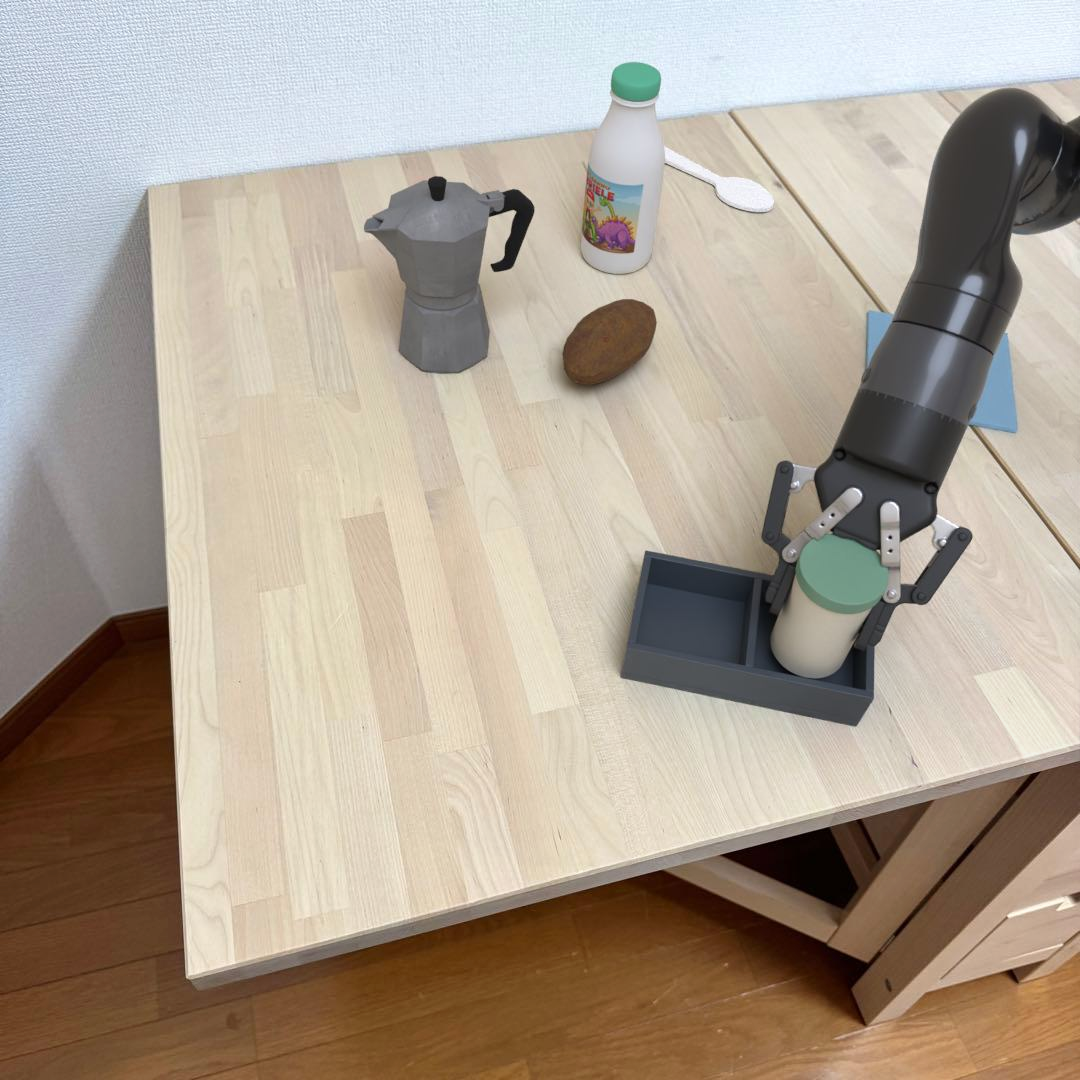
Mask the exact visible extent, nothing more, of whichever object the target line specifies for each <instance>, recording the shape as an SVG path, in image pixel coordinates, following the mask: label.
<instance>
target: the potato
mask: <svg viewBox="0 0 1080 1080" xmlns="http://www.w3.org/2000/svg"><path fill="white" fill-rule="evenodd" d="M657 323H658V322H657V318H656V314H655V310H654V308H652V306H650V305H649V304H647V303H645V302H644V301H640V300H637V299H634V298H622V299H618V300H614V301H611V302H609V303H607V304H604V305H602V306H600V307H597V308H596V309H594V310H593V311H591V312H589V313H587V314H586V315H585V316H583V317H582V318H581V319H580V320H579V322H577V324H576V325H575V327H574V328H573V330H572V331H571V332H570V334H569V335H568V336H567V338H566V340H565V343H564V345H563V349H562V353H561V356H562V362H563V363H562V364H563V370H564V371H565V373H566V374H567V376H568V378H569V379H570V380H571V381H574V382H575V383H577V384H580V385H589V386H590V385H595V384H600V383H603V382H606V381H608V380H611V379H612V378H614V377H616V376H618V375H620V374H622V373H623V372H625V371H626V370H628V369H630V368H631V367H632V366H634V365H635V364H636V363H638V362H639V361H640V360H642V358H643V357H644V356H645V355H646V354H647V353H648V350H649V349H650V347H651V345H652V343H653V341H654V336H655V333H656V329H657Z"/></svg>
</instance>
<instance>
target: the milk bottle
mask: <svg viewBox="0 0 1080 1080" xmlns="http://www.w3.org/2000/svg"><path fill="white" fill-rule="evenodd" d="M661 84H662V75H661V73H660V71H659V70H658V69H657V68H656V67H654V66H653V65H650V64H648V63H644V62H639V61H629V62H624V63H621V64H619V65H617V66H616V67H614V69H613V70H612V73H611V79H610V90H609V95H610V98H611V102H610V104H609V108H608V111H607V113H606V115H605V117H604V119H603V120H602V122H601V123H600V124H599V126H598V128H597V130H596V132H595V134H594V137H593V138H592V142H591V145H590V149H589V153H588V162H587V169H586V178H585V179H586V180H585V190H584V200H583V201H584V202H583V213H582V222H581V223H582V224H581V235H580V252H581V254H582V256H583V259H584V260H585V262H586V263H587V264H588V265H589V266H591V267H593V268H594V269H596V270H598V271H601V272H603V273H607V274H615V275H623V274H630V273H634V272H637V271H639V270H641V269H642V268H644V267H645V266H646V265H647V264H648V262H649V261H650V259H651V258H652V253H653V248H654V244H655V242H654V241H655V238H656V237H655V235H656V230H657V222H658V215H659V209H660V204H661V203H660V202H661V196H662V188H663V183H664V182H663V181H664V173H665V164H666V163H665V148H664V146H665V142H664V138H663V134H662V131H661V128H660V125H659V121H658V117H657V110H656V103H657V102H658V100H659V98H660V92H661V91H660V90H661Z"/></svg>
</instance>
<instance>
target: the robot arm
mask: <svg viewBox="0 0 1080 1080" xmlns="http://www.w3.org/2000/svg"><path fill="white" fill-rule="evenodd" d="M930 170H931V171H930V175H929V179H928V183H927V184H928V186H927V189H926V196H925V201H924V207H923V212H922V218H921V223H920V229H919V235H918V245H917V254H916V260H915V265H914V268H913V270H912V272H911V275H910V277H909V279H908V281H907V283H906V286H905V288H904V289H903V292H902V295H901V297H900V299H899V301H898V304H897V306H896V308H895V311H894V312H893V314H894V316H893V318H892V320H891V322H892V323H890V325H889V327H888V329H887V331H886V333H885V335H884V336H883V338H882V340H881V341H880V343H879V345H878V346H877V348H876V350H875V352H874V354H873V356H872V358H871V360H870V363H869V365H868V368H867V369H866V368H865V370H864V371H863V373H862V376H861V379H860V384H859V386H858V389H857V390H856V395H855V396H854V398H853V401H852V402H851V406H850V407H849V410H848V412H847V415H846V417H845V419H844V422H843V425H842V427H841V429H840V432H839V434H838V436H837V439H836V441H835V443H834V446H833V448H832V450H831V453H830V455H829V456H828V458H826V460H825V461H823V463H821V464H820V465H818V467H812V466H807V465H801V464H797V463H793V462H792V461H790V460H781V461H779V462H778V463H777V465H776V467H775V471H774V476H773V480H772V484H771V489H770V493H769V498H768V502H767V507H766V512H765V515H764V521H763V526H762V529H761V535H760V537H761V540H762V542H763V543H764V544H765V545H767V546H769V547H770V548H771V549H772V550H774V551H775V552H776V553H777V556H778V563H777V566H776V568H775V570H774V573H773V574H772V575H773V577H772V580H771V582H770V585H769V587H768V589H767V592H766V602H768V603H771V604H772V606H771V608H770V610H769V612H771V613H773V614H775V615H779V613H780V611H781V609H782V606H783V604H784V602H785V599H786V597H787V594H788V592H789V589H790V587H791V584H792V582H793V580H794V577H795V574H796V564H797V561H798V559H799V556H800V554H801V551H802V549H803V548H804V546H805V545H806V544H807V543H808V542H809V541H811V540H812V539H814V540H816V541H819V540H820V539H821V538H822V537H823V536H824V535H825V534H828V533H829V532H831V533H833V534H835V535H838V536H840V537H843V538H850V539H856V540H857V541H859V542H860V543H861V544H863V545H864V546H866V547H868V548H871V549H873V550H877V551H879V554H880V555H881V566H882V567H884V568H888V573H889V582H888V585H887V588H886V590H885V592H884V594H883V595H882V597H881V599H880V600H879V602H878V603H877V604H876V605H875V606H874V607H872V609H871V611H870V613H869V615H868V617H867V619H866V621H865V622H864V624H863V626H862V628H861V630H860V632H859V634H858V636H857V639H856V641H855V644H854V647H855V648H857V649H859V650H862V651H865V649H866V647H867V644H869V645H872V646H874V647H875V648H876V646H877V645H878V644H880V642H881V641H882V639H883V636H884V633H885V632H886V630H887V627H888V625H889V622H890V621H891V618H892V615H893V613H894V611H895V609H896V608H897V607H898V606H900V605H904V604H910V605H919V606H925V605H927V604H929V603H930V601H931V600H932V598H933V597H934V596H935V594H936V592H937V591H938V589H939V588H940V587H941V585H942V584H943V582H945V579H946V578H947V576H948V575H949V574H950V573H951V572H952V569H953V568H954V567H955V565H956V564H957V562H959V559H960V558H961V556H962V555H963V554H964V552H965V551H966V550H967V548H968V546H969V545H970V544H971V542H972V540H973V533H972V531H971V529H969V528H967V527H965V526H962V525H958V524H955V523H954V522H952V521H950V520H949V519H947V518H945V517H943V516H942V515H940V514H938V512H939V511H938V495H939V492H940V490H941V488H942V485H943V484H944V481H945V478H946V476H947V474H948V472H949V469H950V467H951V465H952V463H953V461H954V458H955V456H956V454H957V451H958V449H959V447H960V445H961V443H962V440H963V438H964V436H965V434H966V431H967V429H968V427H969V426H970V425H969V422H970V421H971V419H972V418H973V417H974V415H975V413H976V410H977V404H978V402H979V400H980V398H981V395H982V393H983V390H984V387H985V384H986V380H987V377H988V373H989V370H990V366H991V364H992V361H993V358H994V357H993V356H995V354H996V351H997V349H998V347H999V345H1000V342H1001V340H1002V338H1003V336H1004V333H1006V331H1007V329H1008V326H1009V324H1010V322H1011V320H1012V318H1013V315H1014V313H1015V311H1016V308H1017V306H1018V303H1019V302H1020V301H1019V300H1020V298H1021V294H1022V292H1023V286H1024V285H1023V284H1024V282H1023V277H1022V276H1023V275H1022V273H1021V271H1020V269H1019V268H1018V266H1017V264H1016V262H1015V261H1014V258H1013V255H1012V252H1011V240H1012V235H1017V236H1032V235H1033V236H1034V235H1040V234H1043V233H1048V232H1052V231H1055V230H1058V229H1060V228H1062V227H1066V226H1067V225H1069V224H1071V223H1074V222H1076V221H1077V220H1079V219H1080V115H1078V116H1077V117H1075V118H1073V119H1072V120H1069V121H1067V122H1065V120H1064V119H1062V117H1060V116H1059V115H1058V114H1057V113H1056V111H1054V110H1053V109H1052V108H1051V107H1050V106H1049V105H1048V104H1047V103H1045V102H1044V101H1043V100H1042V99H1041V98H1040V97H1038V96H1037V95H1036V94H1034V93H1031V92H1030V91H1028V90H1025V89H1023V88H1017V87H1001V88H998V89H994V90H991V91H990V92H986V93H985V94H983V95H981V96H980V97H977V98H976V99H975V100H974V101H973V102H971V103H970V104H969V105H968V106H966V107H965V108H964V109H963V110H962V111H961V112H960V114H958V115H957V117H956V118H955V119H954V120H953V122H952V123H951V125H950V126H949V128H948V129H947V131H946V133H945V134H944V136H943V137H942V139H941V142H940V144H939V146H938V149H937V151H936V153H935V157H934V160H933V162H932V166H931V169H930ZM809 482H813V483H814V487H815V492H816V496H817V499H818V503H819V506H820V511H821V513H820V514H819V515H818V516H817V517H816V518H815V519H814V520H812V521H811V522H810V523H809V524H808V525H807V526H806V527H805V528H804V529H803V530H802V531H801V532H800V533H798V534H797V536H795V538H793V539H791V538H790V537H788V535H787V534H785V533H784V532H783V530H784V524H785V520H786V516H787V512H788V511H787V510H788V507H789V502H790V498H791V494H792V495H795V494H799V493H801V491H802V490H803V489H804V486H805V485H806V484H807V483H809ZM928 527H931V528H932V530H933V536H932V538H931V542H930V543H931V546H932V547H933V548H934V549H935V550H936V551H935V553H934V554H933V555H932V557H931V558H930V560H929V561H928V563H927V564H926V566H925V567H924V568H923V570H922V571H921V573H920V574H919V575H918V577H917V578H916V580H915V582H914V583H902V582H901V543H902V542H903V541H906V540H907V539H909V538H911V537H912V536H914V535H916V534H917V533H919V532H921V531H922V530H925V529H926V528H928Z"/></svg>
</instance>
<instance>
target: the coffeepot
mask: <svg viewBox="0 0 1080 1080" xmlns="http://www.w3.org/2000/svg"><path fill="white" fill-rule="evenodd" d="M511 211H514V212H515V214H514V216H513V219H512V222H511V227H510V232H509V236H508V238H507V239H506V241H505V243H504V255H503V258H502V259H501V260H498V261H496V262H493V263H490V268H491V270H492V272H493V273H500V272H504V271H509V270H511V269H513V267H515V264H516V261H517V258H518V255H519V253H520V250H521V248H522V246H523V243H524V240H525V239H526V235H527V232H528V229H529V227H530V225H531V223H532V220H533V219H534V215H535V211H536V209H535V205H534V203H533V201H532V200H531V199H530V198H529V197H528V196H527V195H525V194H524V193H523V192H522V191H521V190H519V189H517V188H511V189H508V190H505V191H500V190H492V191H491V190H490V191H485V192H482V193H479V192H478V191H477V190H475V189H474V188H473V187H471V186H469V185H468V184H467V183H465V182H459V181H448V179H446V178H445V177H444V176H439V175H433V176H432V177H429V178H428V180H421V181H419V182H417V183H415V184H412V185H410V186H408V187H406V188H404V189H402V190H399V191H397V192H395V193H392V194H391V195H390V198H389V202H388V207H387V208H384V209H383V210H381V211H378V212H377V213H375V214H373V215H372V216H371V217H369V218H367V219H366V221H365V223H364V225H363V231H364V233H365V234H366V233H367V234H371V235H372V236H373V237H374V238H376V239H377V240H378V242H380V243H381V244H382V246H383V247H384V248H385V249H386V250H387V251H388V252H389V253H390V255H391V256H392V257H393V258H394V259H395V262H396V267H397V270H398V273H399V274H398V275H399V278H400V280H401V281H402V282H403V283H404V284H405V291H404V297H403V308H402V315H401V324H400V334H399V343H398V352H399V353H400V354H401V355H402V356H403V357H404V358H405V359H406V360H407V361H408V362H409V364H412V365H413V366H415V367H416V368H418V369H420V370H421V371H425V372H429V373H433V374H454V373H460V372H463V371H466V370H468V369H470V368H473V367H475V366H476V365H477V364H478V363H480V362H481V361H482V360H483V359H485V358H486V357H487V356H488V352H489V351H488V350H489V341H490V334H491V333H490V332H491V331H490V330H491V329H490V326H489V321H488V316H487V312H486V307H485V302H484V298H483V293H482V287H481V284H480V282H479V281H480V274H481V270H482V269H481V267H482V262H483V257H484V256H483V255H484V250H485V249H484V248H485V242H486V237H487V229H488V225H489V219H490V218H491V217H495V216H498V215H502V214H504V213H508V212H511Z"/></svg>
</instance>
